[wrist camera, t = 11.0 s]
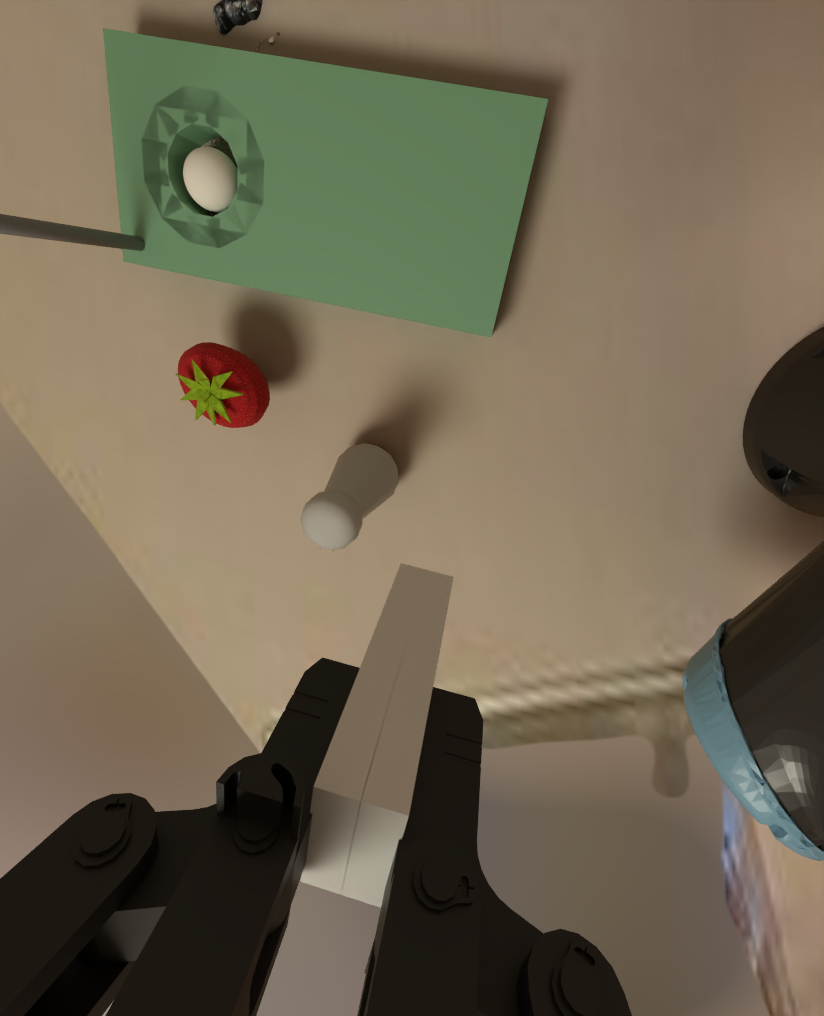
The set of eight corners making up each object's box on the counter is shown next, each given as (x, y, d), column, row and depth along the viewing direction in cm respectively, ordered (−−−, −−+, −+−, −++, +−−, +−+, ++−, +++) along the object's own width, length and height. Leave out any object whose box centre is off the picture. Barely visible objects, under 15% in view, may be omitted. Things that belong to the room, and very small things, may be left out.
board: (544, 116, 31) (604, -160, 12) (492, 334, 37) (478, 373, 18) (135, 49, 34) (-333, -262, 15) (149, 263, 40) (-169, 234, 21)
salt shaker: (354, 426, 43) (298, 475, 31) (412, 451, 42) (376, 509, 31) (336, 480, 45) (278, 544, 34) (391, 504, 45) (351, 576, 33)
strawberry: (239, 320, 40) (163, 327, 31) (306, 380, 42) (251, 403, 33) (207, 371, 43) (129, 391, 34) (271, 427, 44) (212, 460, 35)
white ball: (175, 157, 31) (177, 135, 33) (189, 221, 35) (190, 196, 37) (238, 162, 32) (236, 139, 34) (246, 223, 36) (243, 199, 38)
